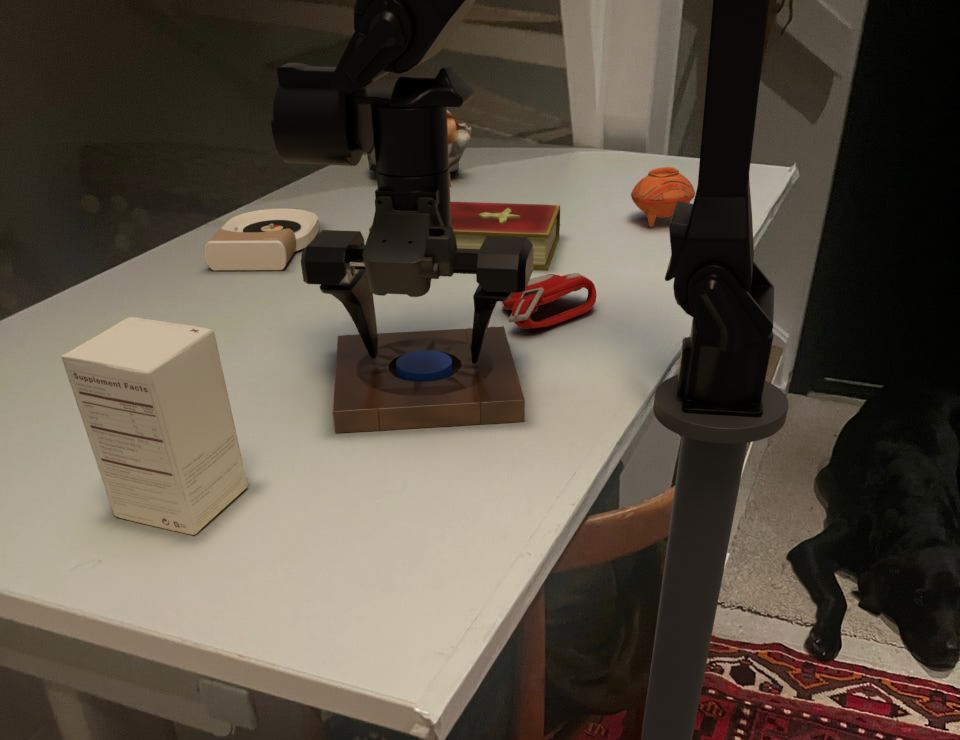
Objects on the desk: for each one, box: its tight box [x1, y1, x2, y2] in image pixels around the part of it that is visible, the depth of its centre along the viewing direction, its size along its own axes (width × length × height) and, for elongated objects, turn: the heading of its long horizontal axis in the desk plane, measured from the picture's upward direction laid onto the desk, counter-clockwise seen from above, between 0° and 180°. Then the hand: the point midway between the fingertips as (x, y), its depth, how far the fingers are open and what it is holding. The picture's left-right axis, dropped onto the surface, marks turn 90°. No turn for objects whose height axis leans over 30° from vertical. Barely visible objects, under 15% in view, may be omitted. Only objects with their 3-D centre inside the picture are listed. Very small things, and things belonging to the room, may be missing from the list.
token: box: [396, 350, 453, 382], centre depth 83 cm, size 5×5×2 cm
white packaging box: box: [60, 316, 249, 536], centre depth 66 cm, size 7×7×13 cm
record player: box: [204, 208, 320, 271], centre depth 115 cm, size 12×3×20 cm
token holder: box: [332, 326, 526, 434], centre depth 84 cm, size 16×16×2 cm
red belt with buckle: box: [501, 272, 597, 330], centre depth 95 cm, size 12×4×10 cm
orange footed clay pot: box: [630, 166, 696, 228], centre depth 118 cm, size 8×8×7 cm
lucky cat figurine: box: [366, 109, 472, 173], centre depth 134 cm, size 15×12×14 cm
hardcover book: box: [368, 201, 561, 271], centre depth 112 cm, size 12×21×4 cm, turn 80°
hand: (424, 359), depth 82 cm, fingers open, 9 cm apart
